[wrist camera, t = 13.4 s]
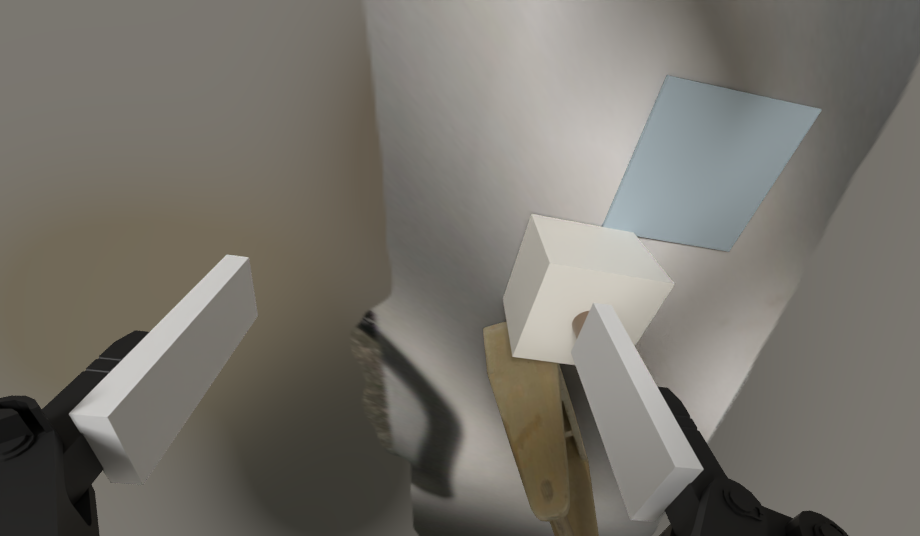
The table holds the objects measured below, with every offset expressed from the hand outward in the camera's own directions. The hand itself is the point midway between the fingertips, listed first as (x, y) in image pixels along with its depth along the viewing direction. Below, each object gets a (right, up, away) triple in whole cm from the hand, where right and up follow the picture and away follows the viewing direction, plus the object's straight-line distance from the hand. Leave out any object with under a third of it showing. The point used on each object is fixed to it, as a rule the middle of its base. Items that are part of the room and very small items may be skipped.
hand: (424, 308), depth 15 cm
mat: (+33, +14, +35) cm, 50 cm away
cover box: (+17, +2, +42) cm, 46 cm away
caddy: (+15, -18, +56) cm, 60 cm away
